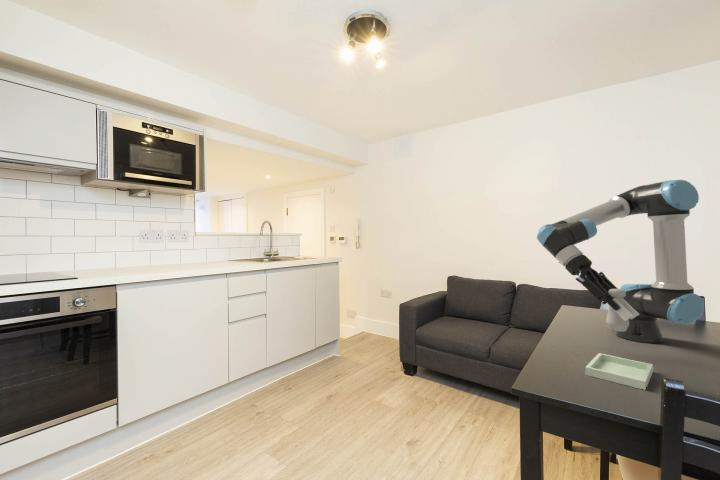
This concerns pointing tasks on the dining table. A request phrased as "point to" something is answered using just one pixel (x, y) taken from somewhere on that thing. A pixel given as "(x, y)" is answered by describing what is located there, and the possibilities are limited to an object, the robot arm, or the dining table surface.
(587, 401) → the dining table surface
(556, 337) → the dining table surface
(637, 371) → the tray
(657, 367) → the dining table surface
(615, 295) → the salt shaker
